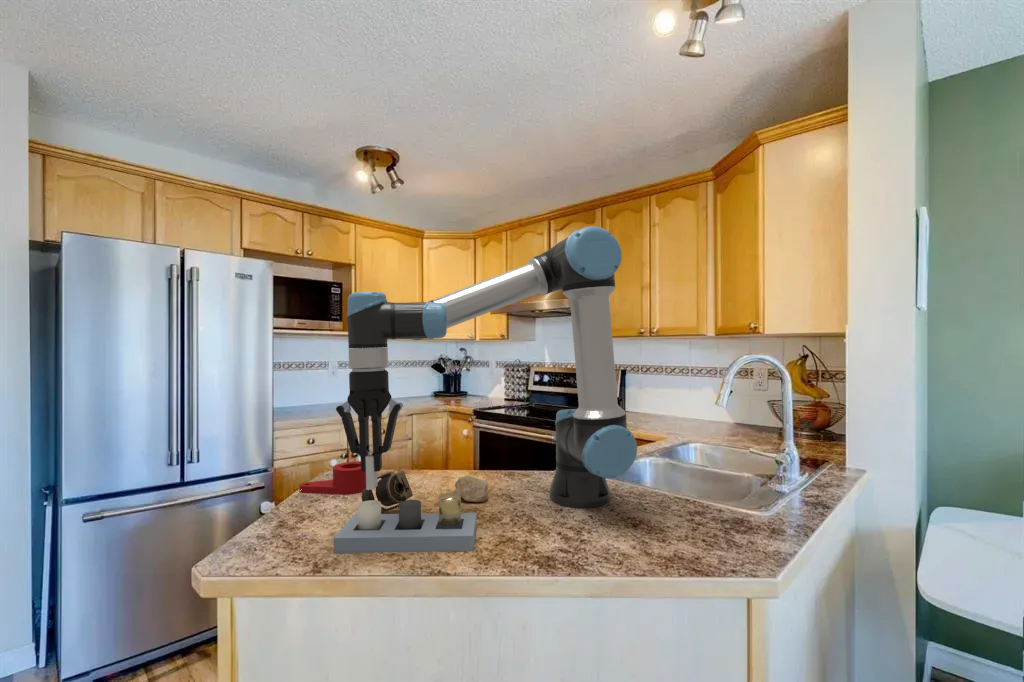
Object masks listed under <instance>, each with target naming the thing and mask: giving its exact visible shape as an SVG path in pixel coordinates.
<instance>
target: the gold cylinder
mask: <svg viewBox="0 0 1024 682" xmlns="http://www.w3.org/2000/svg"><path fill="white" fill-rule="evenodd" d="M438 513H439V523H440V524H441V525H445V526H451V525H456V524H459V523H460V522H461V513H462V497H461V495H460V494H457V493H455V492H447V493H441V494H440V495H439V496H438Z"/></svg>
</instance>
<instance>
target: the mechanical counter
mask: <svg viewBox="0 0 1024 682" xmlns="http://www.w3.org/2000/svg"><path fill="white" fill-rule="evenodd" d="M377 484H378V485H377V487H376V488H375V495H374V493H373V490H366V488H365V489H363V490H362V493H361V502H364V501H369V500H377V501H380V502H381V512H388V511H392V510H395V509H399V503H400V502H402V501H405V500H409V499H410V498H411V497H412V496H414V493H413V491H412V489H411V486H410V483H409V481H408V478H407V476H406V473H405V471H404V470H401V471H398V472H396V473H395V471H389V472H387V473H384V474H382V475H379V476H377ZM375 496H376V497H375ZM383 506H384V507H383ZM385 507H387V508H385ZM388 507H389V508H388Z"/></svg>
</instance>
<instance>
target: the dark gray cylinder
mask: <svg viewBox="0 0 1024 682" xmlns="http://www.w3.org/2000/svg"><path fill="white" fill-rule="evenodd" d="M398 505H399V507H398V514H399V530H420V529H421V513H422V501H420V500H418V499H407V500H405V501H402V502H400V503H398Z"/></svg>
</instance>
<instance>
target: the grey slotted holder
mask: <svg viewBox="0 0 1024 682" xmlns="http://www.w3.org/2000/svg"><path fill="white" fill-rule="evenodd" d="M477 519H478V518H477V512H461V522H460V523H459V524H456V525H451V526H445V525H441V524H440V523H439V512H438V513H436V512H430V513H429V512H428V513H427V512H426V513H425V512H423V513H422V512H421V529H420V530H399V513H381V529H380V530H360V531H358V513H357V514H353V515H352V516H351V517H350V519H349V520H348V521H346V524H344V526H343V527H342V528H341V529H340V530H339V532H337V534H336V535H335V536H334V537H333V554H375V553H376V552H380V554H381V553H382V552H383V553H384V552H385V553H386V552H388V553H437V552H439V553H440V552H442V553H443V552H445V553H446V552H447V553H449V552H474V548H475V541H476V533H477V523H478V521H477ZM374 552H375V553H374Z"/></svg>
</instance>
